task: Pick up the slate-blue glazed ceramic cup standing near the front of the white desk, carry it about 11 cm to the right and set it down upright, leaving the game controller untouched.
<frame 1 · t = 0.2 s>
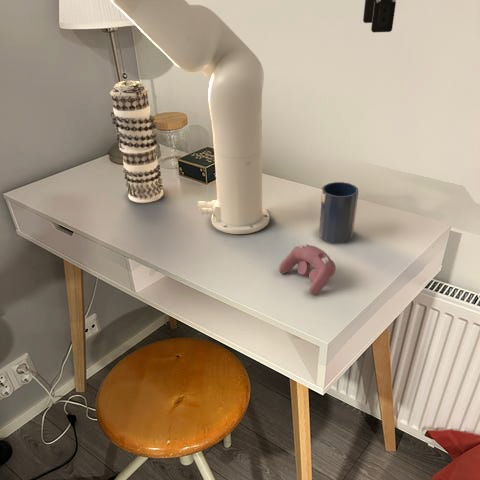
hand: (376, 26, 81), 36 cm above the table, tool pointing down, fingers open, 9 cm apart
video game controller: (306, 280, 87), on the table
cup: (335, 235, 99), on the table
decorative candle: (146, 195, 117), on the table
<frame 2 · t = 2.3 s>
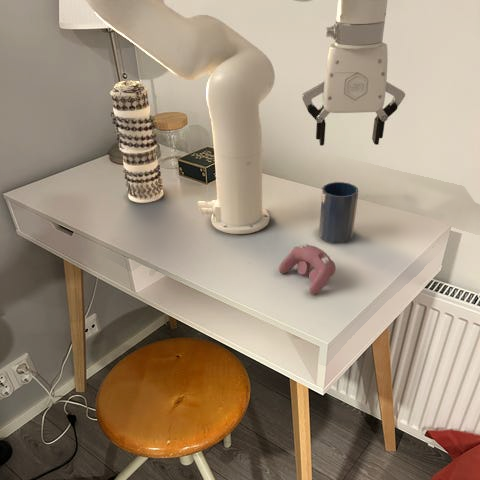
hand: (348, 142, 88), 19 cm above the table, tool pointing down, fingers open, 9 cm apart
nothing on the table moved.
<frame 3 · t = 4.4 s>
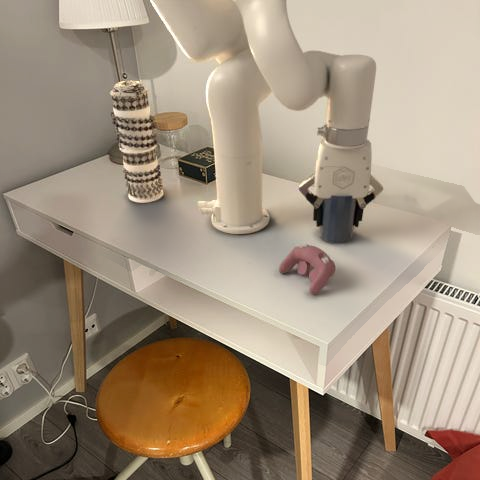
hand: (336, 223, 98), 3 cm above the table, tool pointing down, fingers closed on cup, 6 cm apart
cup: (335, 235, 99), on the table, touching gripper
everything else where it was.
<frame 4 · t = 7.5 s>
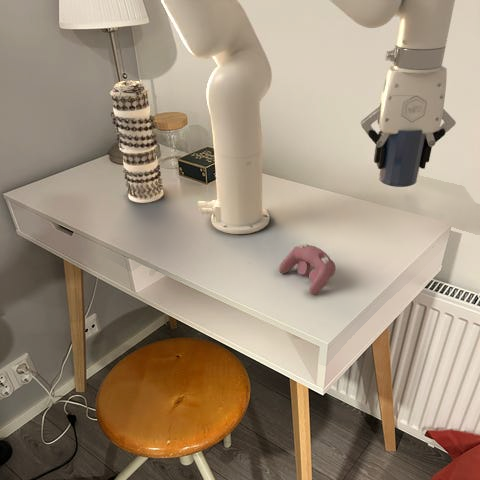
hand: (400, 165, 89), 15 cm above the table, tool pointing down, fingers closed on cup, 6 cm apart
cup: (397, 179, 91), point 12 cm above the table, touching gripper
everything else where it was.
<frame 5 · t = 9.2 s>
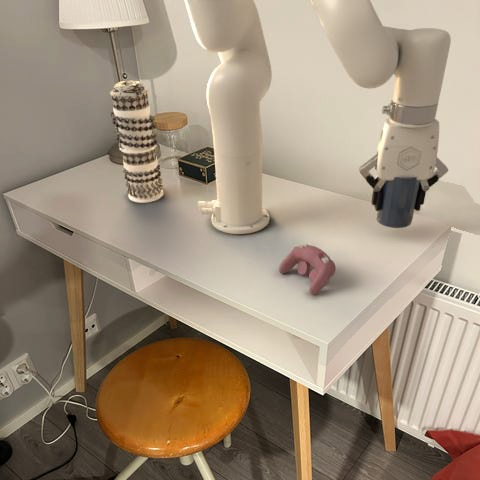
hand: (396, 207, 94), 6 cm above the table, tool pointing down, fingers closed on cup, 6 cm apart
cup: (394, 220, 96), point 4 cm above the table, touching gripper
everything else where it was.
when the fingers open (3 cm above the table, at t = 10.6 s): cup stays where it is, on the table.
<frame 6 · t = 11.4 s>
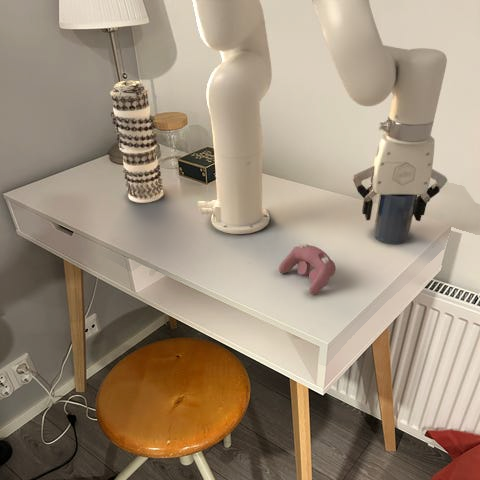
hand: (391, 217, 96), 4 cm above the table, tool pointing down, fingers open, 9 cm apart
cup: (390, 235, 98), on the table
everything else where it was.
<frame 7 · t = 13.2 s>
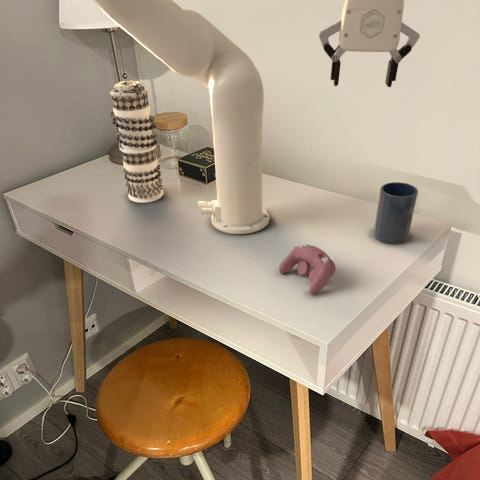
hand: (361, 84, 90), 26 cm above the table, tool pointing down, fingers open, 9 cm apart
nothing on the table moved.
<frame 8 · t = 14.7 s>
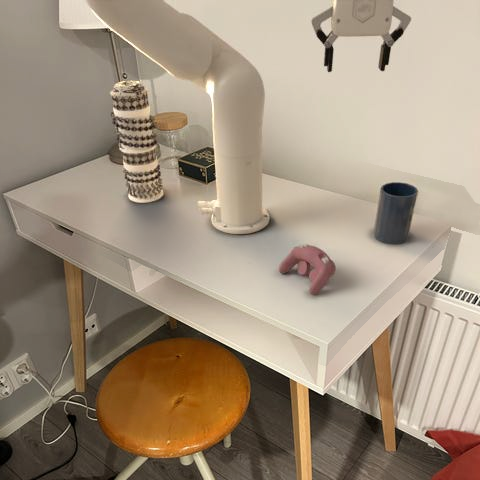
hand: (355, 70, 91), 28 cm above the table, tool pointing down, fingers open, 9 cm apart
nothing on the table moved.
at the end: cup 0.1 cm from the target spot, on the table; cup tilted 0°; the gripper is holding nothing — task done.
